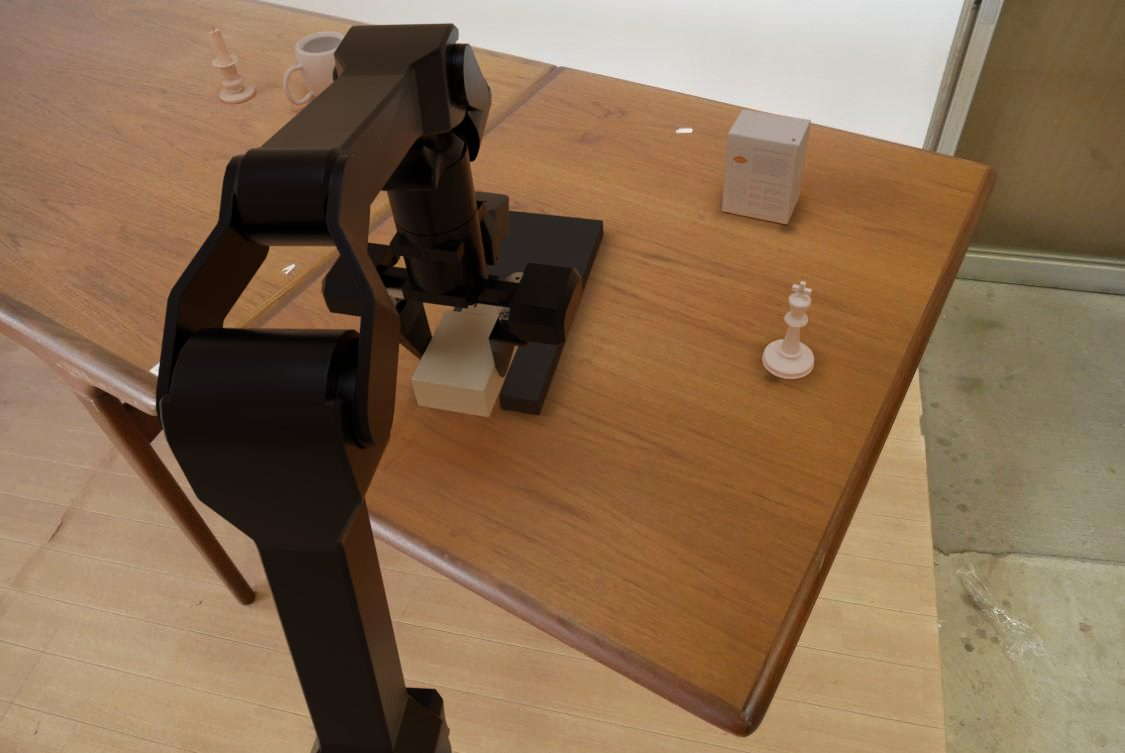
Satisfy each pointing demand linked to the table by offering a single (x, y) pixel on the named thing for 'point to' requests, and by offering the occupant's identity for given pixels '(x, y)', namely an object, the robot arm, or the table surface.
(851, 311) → the table surface
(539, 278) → the robot arm
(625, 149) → the table surface
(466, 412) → the beige stepped block
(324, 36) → the mug
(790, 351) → the chess piece
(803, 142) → the small box
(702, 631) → the table surface
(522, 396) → the socket pad
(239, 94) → the candle
